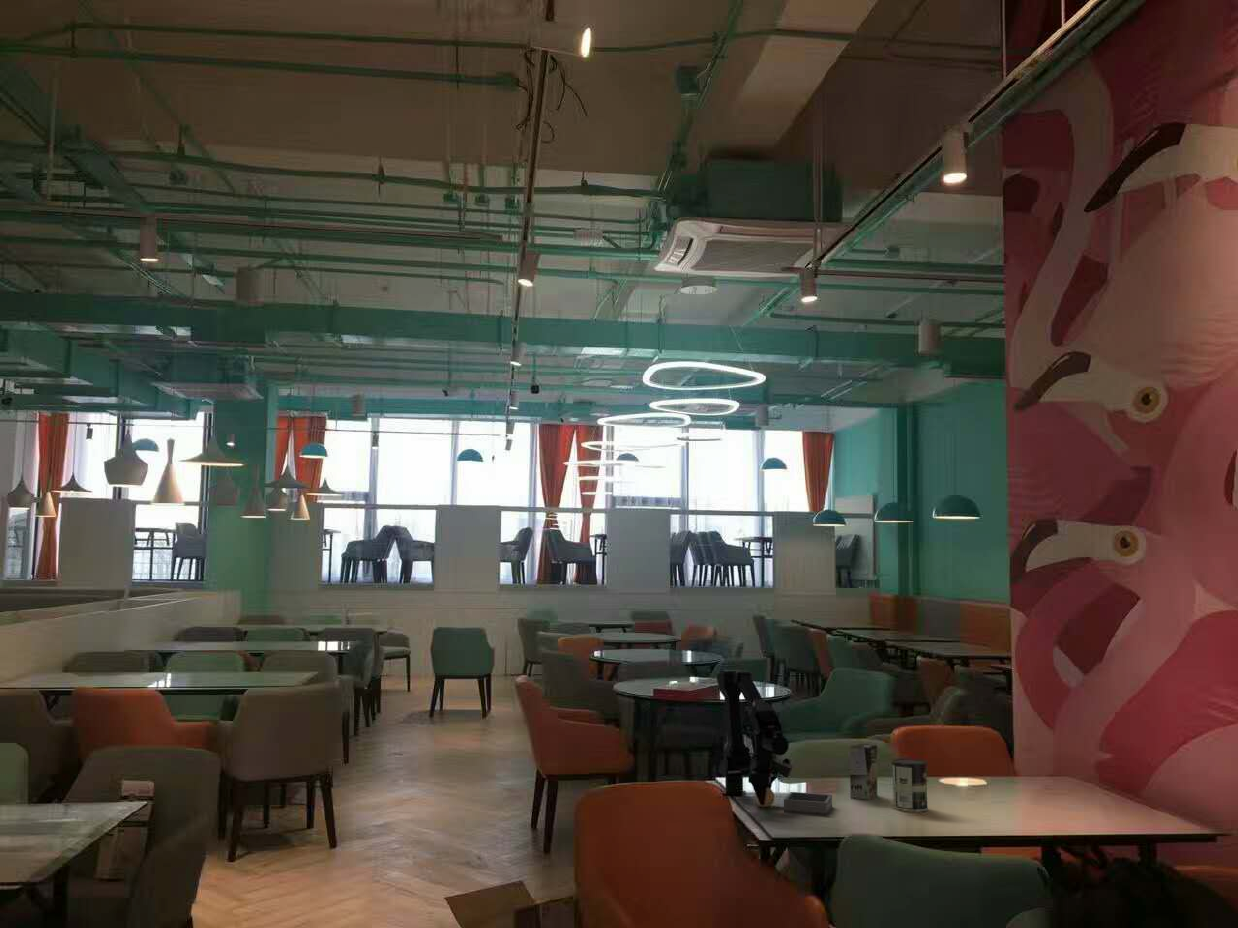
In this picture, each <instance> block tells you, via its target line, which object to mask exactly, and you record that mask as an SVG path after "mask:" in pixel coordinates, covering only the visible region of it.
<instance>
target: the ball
mask: <svg viewBox="0 0 1238 928" xmlns="http://www.w3.org/2000/svg"><path fill="white" fill-rule="evenodd" d="M774 801H775V794H774V791H773V790H772V788H771V789H770V788H768V787H767V791H766V798H765V804H764V805H761V804H760V802H759V800H758V797H757V795H756V793H755V792H754V802H755V803H756V804H757V806H760V807H762V808H769V807H771V806H772V805H773V803H774Z"/></svg>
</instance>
